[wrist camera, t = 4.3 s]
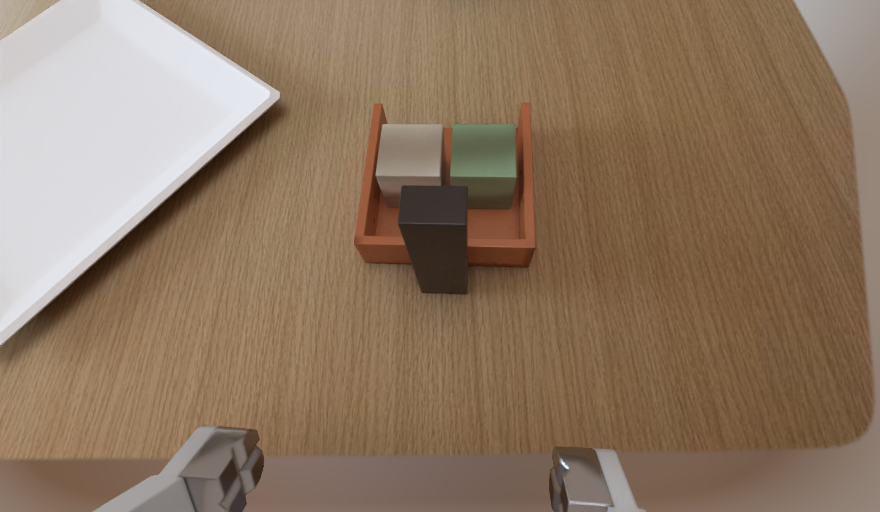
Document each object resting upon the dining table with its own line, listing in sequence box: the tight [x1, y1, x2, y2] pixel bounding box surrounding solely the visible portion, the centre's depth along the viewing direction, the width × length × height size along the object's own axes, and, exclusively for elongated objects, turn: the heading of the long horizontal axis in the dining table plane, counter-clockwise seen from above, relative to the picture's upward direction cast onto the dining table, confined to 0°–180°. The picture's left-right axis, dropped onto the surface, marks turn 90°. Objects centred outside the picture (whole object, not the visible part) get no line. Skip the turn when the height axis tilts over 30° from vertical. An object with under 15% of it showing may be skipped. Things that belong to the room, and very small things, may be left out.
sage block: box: [450, 124, 517, 209], centre depth 27 cm, size 4×4×4 cm
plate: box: [0, 0, 280, 347], centre depth 33 cm, size 26×26×2 cm
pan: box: [354, 103, 536, 294], centre depth 24 cm, size 13×11×10 cm
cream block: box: [376, 124, 446, 207], centre depth 27 cm, size 4×4×4 cm
